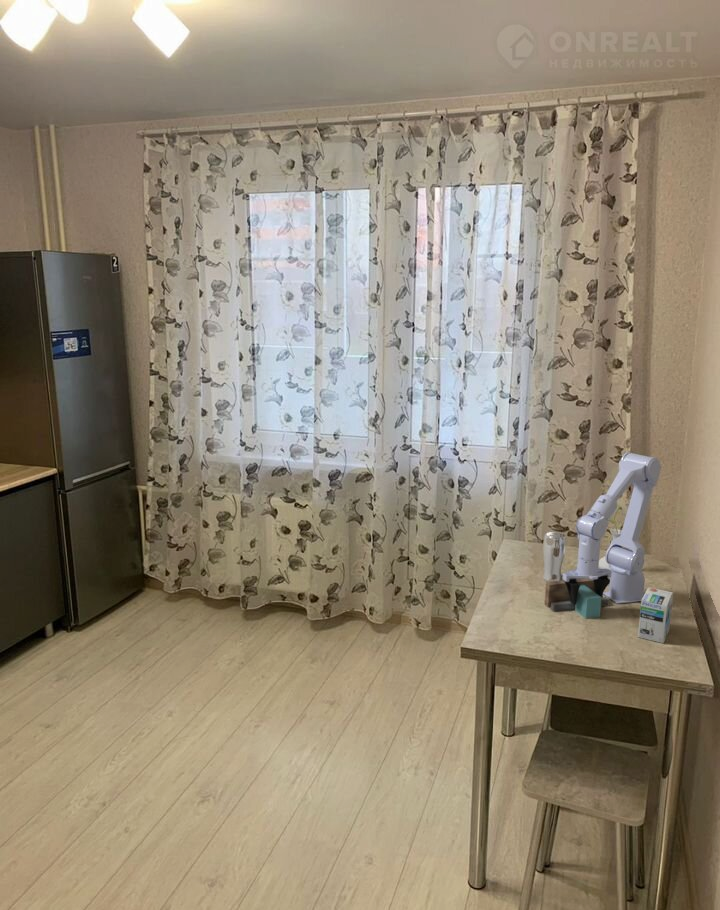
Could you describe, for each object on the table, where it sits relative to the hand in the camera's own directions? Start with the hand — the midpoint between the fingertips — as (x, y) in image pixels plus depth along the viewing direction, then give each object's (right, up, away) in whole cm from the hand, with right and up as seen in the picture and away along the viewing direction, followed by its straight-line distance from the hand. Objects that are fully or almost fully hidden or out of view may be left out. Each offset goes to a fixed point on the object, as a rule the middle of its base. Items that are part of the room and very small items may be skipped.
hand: (584, 601), depth 198 cm
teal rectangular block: (0, -3, +1) cm, 3 cm away
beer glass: (-3, +2, +24) cm, 24 cm away
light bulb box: (+15, -6, -12) cm, 20 cm away
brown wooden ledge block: (-1, -2, +4) cm, 5 cm away
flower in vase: (+20, +4, +31) cm, 37 cm away
